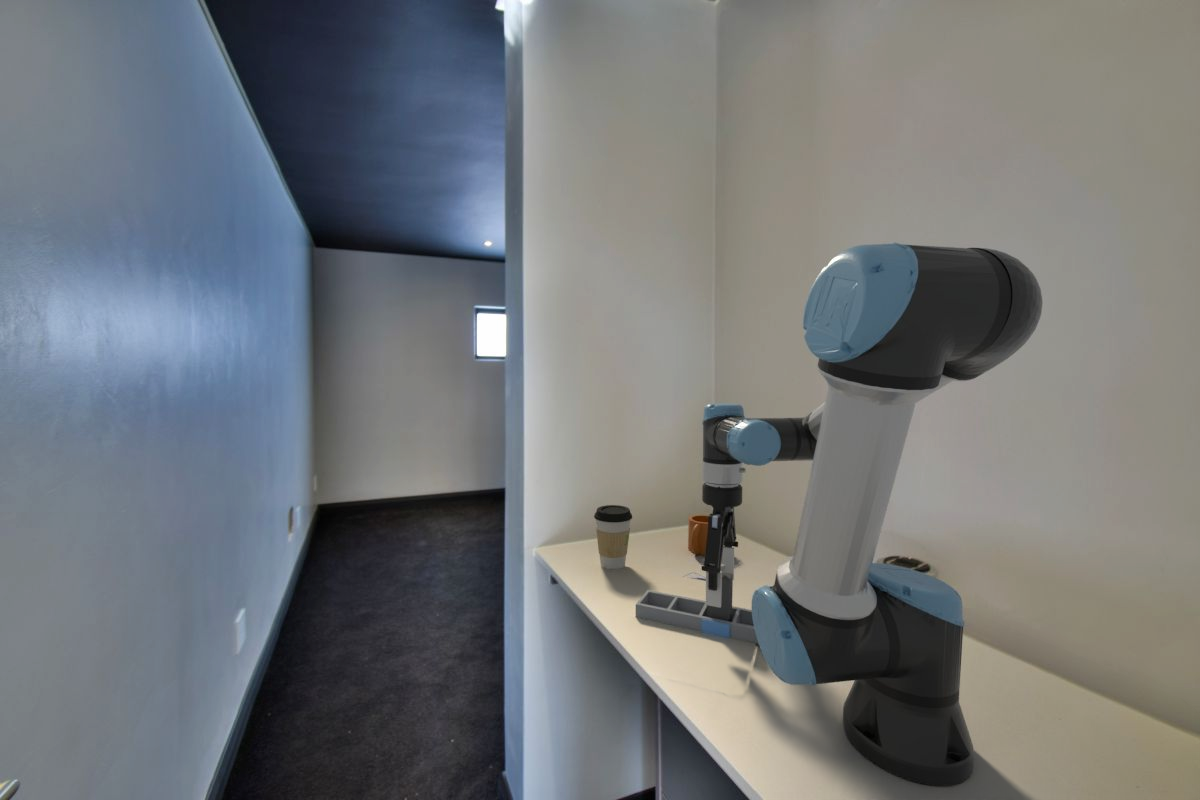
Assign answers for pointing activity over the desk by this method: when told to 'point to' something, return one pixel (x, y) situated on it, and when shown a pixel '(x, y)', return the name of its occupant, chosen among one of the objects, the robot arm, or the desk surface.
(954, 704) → the robot arm
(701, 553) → the mug
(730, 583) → the grey block with peg
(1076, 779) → the desk surface
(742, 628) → the compartment organizer tray
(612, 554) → the coffee cup
